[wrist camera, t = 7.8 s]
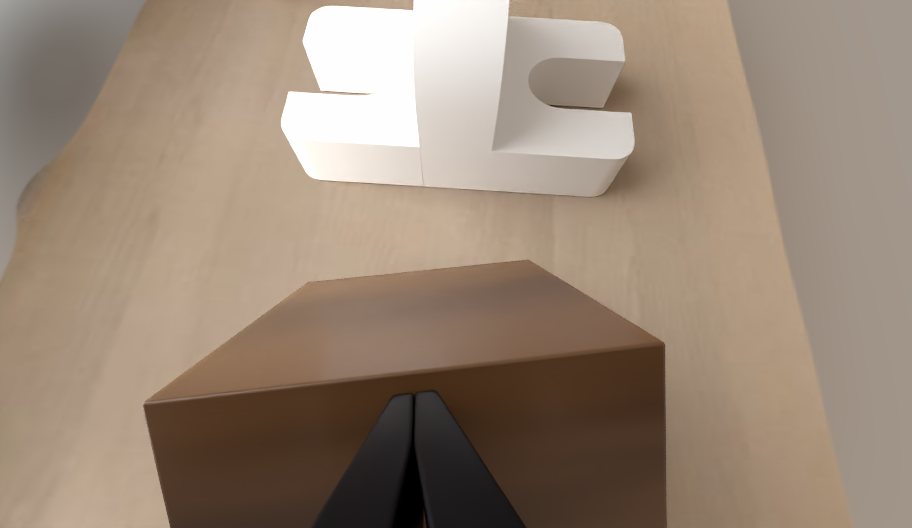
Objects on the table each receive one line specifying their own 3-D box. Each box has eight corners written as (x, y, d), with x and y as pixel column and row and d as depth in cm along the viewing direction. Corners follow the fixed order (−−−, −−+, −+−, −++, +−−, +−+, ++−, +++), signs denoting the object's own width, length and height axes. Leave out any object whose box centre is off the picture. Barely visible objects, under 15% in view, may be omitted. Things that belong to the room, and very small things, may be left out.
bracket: (299, 178, 26) (195, 0, 15) (329, 55, 29) (261, -156, 19) (610, 198, 25) (726, 32, 15) (600, 72, 29) (686, -132, 19)
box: (669, 675, 10) (666, 341, 8) (219, 749, 9) (138, 403, 8) (539, 421, 20) (529, 259, 19) (332, 446, 20) (306, 282, 18)
